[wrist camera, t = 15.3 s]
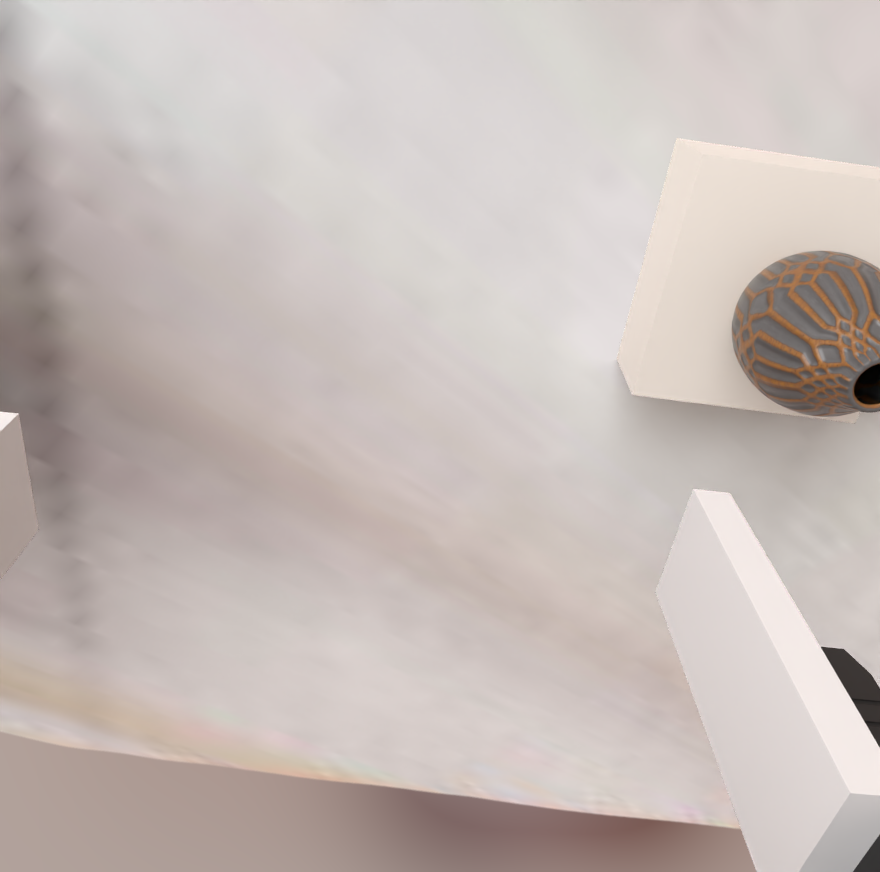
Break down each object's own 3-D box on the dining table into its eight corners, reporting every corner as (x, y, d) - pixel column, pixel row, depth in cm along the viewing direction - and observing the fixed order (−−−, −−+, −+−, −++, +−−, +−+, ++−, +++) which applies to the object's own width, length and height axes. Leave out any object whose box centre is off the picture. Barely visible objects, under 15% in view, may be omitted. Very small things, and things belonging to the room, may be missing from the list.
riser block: (615, 355, 43) (632, 395, 39) (674, 136, 37) (702, 154, 33) (815, 381, 44) (854, 423, 39) (906, 170, 38) (964, 191, 33)
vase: (873, 330, 37) (988, 416, 29) (738, 391, 38) (813, 487, 31) (839, 206, 34) (957, 265, 26) (693, 278, 35) (765, 353, 28)
